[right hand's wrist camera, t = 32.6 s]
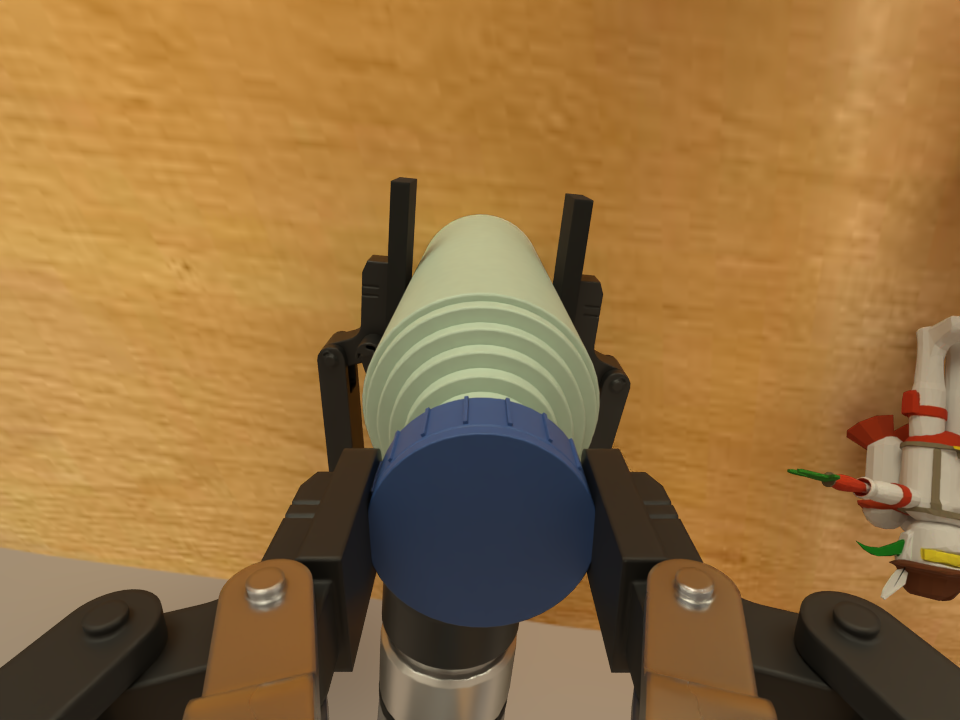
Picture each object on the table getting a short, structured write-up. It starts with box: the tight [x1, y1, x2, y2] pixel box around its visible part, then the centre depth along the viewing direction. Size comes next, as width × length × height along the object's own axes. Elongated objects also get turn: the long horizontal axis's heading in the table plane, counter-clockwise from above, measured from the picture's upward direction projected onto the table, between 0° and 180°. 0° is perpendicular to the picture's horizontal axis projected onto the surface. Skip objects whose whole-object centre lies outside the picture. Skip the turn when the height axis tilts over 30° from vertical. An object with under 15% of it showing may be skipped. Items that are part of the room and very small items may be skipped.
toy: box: [787, 316, 960, 601], centre depth 32 cm, size 17×6×15 cm
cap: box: [368, 396, 595, 627], centre depth 12 cm, size 4×4×2 cm
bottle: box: [363, 214, 600, 461], centre depth 22 cm, size 6×6×22 cm
